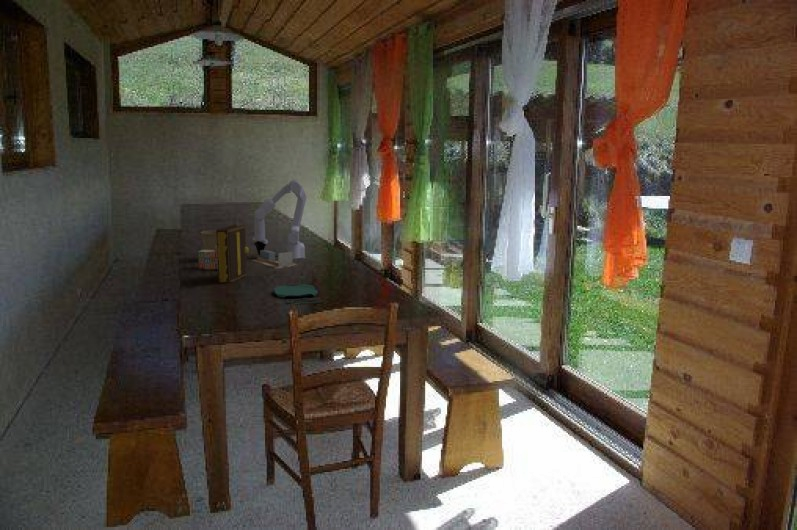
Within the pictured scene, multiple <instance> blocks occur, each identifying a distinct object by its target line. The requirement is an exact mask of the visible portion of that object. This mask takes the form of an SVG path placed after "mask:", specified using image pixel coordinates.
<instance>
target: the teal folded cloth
mask: <svg viewBox="0 0 797 530" xmlns="http://www.w3.org/2000/svg"><path fill="white" fill-rule="evenodd" d="M318 292H319V288H318V287H317V286H314V285H311V284H304V283H303V284H289V285H288V284H287V285H279V286H276V287H273V289H272V293H273V294H274V295H276V296H277V297H278V298H282V299H283V298H284V299H285V298H291V299H285V300H284V302H285V303H286V304H289V303H291V304H292V305H291V306H300V305H313V304H322V303H323V300H321V298H320V297H316V296H317V295H318ZM311 295H313V297H311V298H310V297H309V296H311ZM307 296H308V297H309V298H308V297H307ZM293 298H294V299H293ZM293 300H294V301H297V302H291V301H293ZM299 304H300V305H299Z"/></svg>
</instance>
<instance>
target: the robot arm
mask: <svg viewBox="0 0 797 530" xmlns="http://www.w3.org/2000/svg"><path fill="white" fill-rule="evenodd" d="M291 192H292V193H293V194H294V195H295V197H296V198H297V201H296V205H295V210H294V215H293V218H292V224H291V226H290V230H289V232H288V233H287V240H288V241H287V242H286V248H287V249H286V250H287V251H286V252H292V255H293V260H294V259H302V258H303V259H306V249H305V248H306V247H305V245H304V244H305V243H304V242H301V241H300V236H299V235H300V228H301V227H300V226H301V224H302V223H301V222H302V219H303V214H304V209H305V206H306V201H307V195H306V192H305V189H304V187H303V185H302V184H301V182H299V181H298V180H297V179H292V180H290V182H288V183H286V184H285V185H284V186H282V187H281V189H279V191H278V192H277V193H276V194H275V195H274V196H273V197H271V199H270V198H267V199H265V200H264V201H263V203H262V204H261V205H260V206H257V209H256V210H255V211H254V212H253V217H254V223H253V224H254V236H253V237H252V238H251V239H252V241H253V245H254V246H255V248H256V252H257V254H258V256H260V250H265V247H266V245H267V244H269V240H268V239H266V223H265V216H266V215H269V213H270V212H271V211H272V210H273V209H274V208H276V203H277V202H278V201H279V200H281V198H283V197H284V196H285V195H287V194H291Z"/></svg>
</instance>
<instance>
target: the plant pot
mask: <svg viewBox="0 0 797 530" xmlns="http://www.w3.org/2000/svg"><path fill="white" fill-rule="evenodd" d="M200 236H201V241H202V246H203V250H215V246H217V234H216V230H215V229H214V230H203V231H201V232H200Z"/></svg>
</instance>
